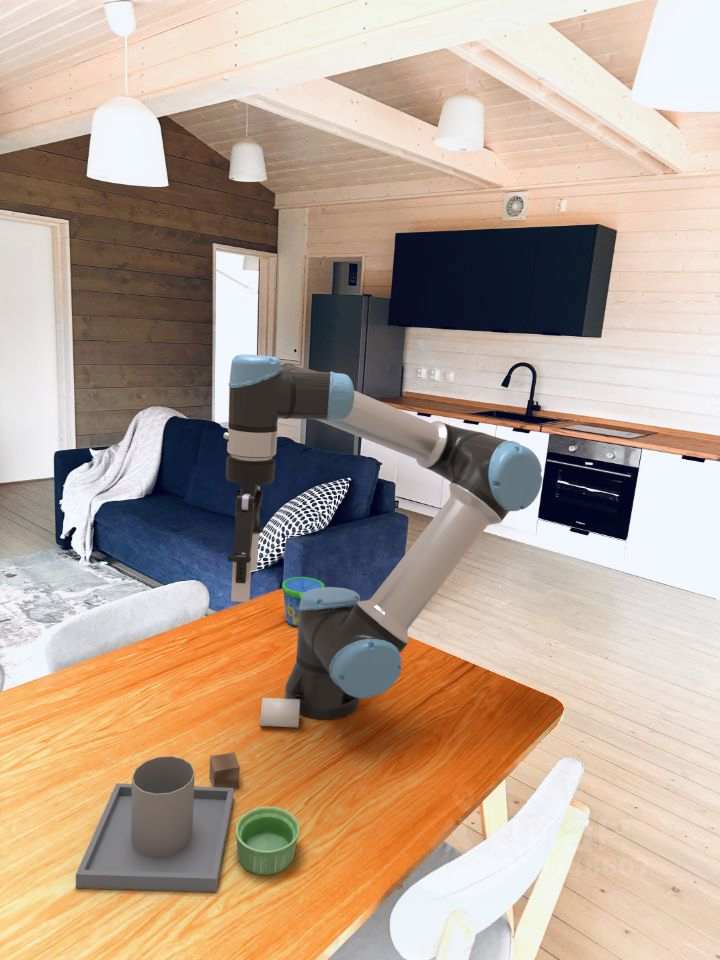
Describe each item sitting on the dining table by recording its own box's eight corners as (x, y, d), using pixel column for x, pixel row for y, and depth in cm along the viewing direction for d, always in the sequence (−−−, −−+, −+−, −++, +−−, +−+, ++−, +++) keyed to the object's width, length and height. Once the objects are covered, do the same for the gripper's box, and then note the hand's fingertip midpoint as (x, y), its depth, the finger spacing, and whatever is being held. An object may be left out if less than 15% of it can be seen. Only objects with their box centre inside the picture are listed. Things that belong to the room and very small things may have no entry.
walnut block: (233, 773, 114) (234, 752, 114) (238, 789, 111) (239, 767, 110) (209, 777, 113) (210, 756, 112) (213, 793, 109) (214, 771, 108)
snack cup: (322, 636, 167) (325, 597, 165) (278, 635, 166) (281, 595, 163) (320, 610, 182) (323, 574, 180) (280, 608, 181) (283, 572, 179)
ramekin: (243, 827, 103) (245, 802, 102) (302, 836, 102) (305, 811, 101) (225, 873, 94) (227, 846, 93) (290, 884, 93) (292, 856, 92)
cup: (201, 822, 102) (204, 763, 100) (176, 863, 94) (178, 799, 92) (148, 810, 103) (150, 751, 101) (119, 849, 95) (120, 786, 93)
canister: (299, 713, 126) (297, 733, 128) (300, 693, 130) (298, 713, 132) (260, 711, 125) (259, 731, 127) (263, 691, 130) (262, 711, 132)
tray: (233, 799, 108) (233, 788, 108) (216, 892, 91) (216, 878, 90) (116, 795, 107) (116, 783, 106) (75, 888, 89) (75, 874, 89)
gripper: (236, 440, 119) (230, 557, 124) (215, 471, 95) (209, 614, 99) (279, 443, 119) (272, 559, 124) (270, 475, 95) (262, 617, 100)
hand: (244, 584), depth 112 cm, fingers open, 13 cm apart
